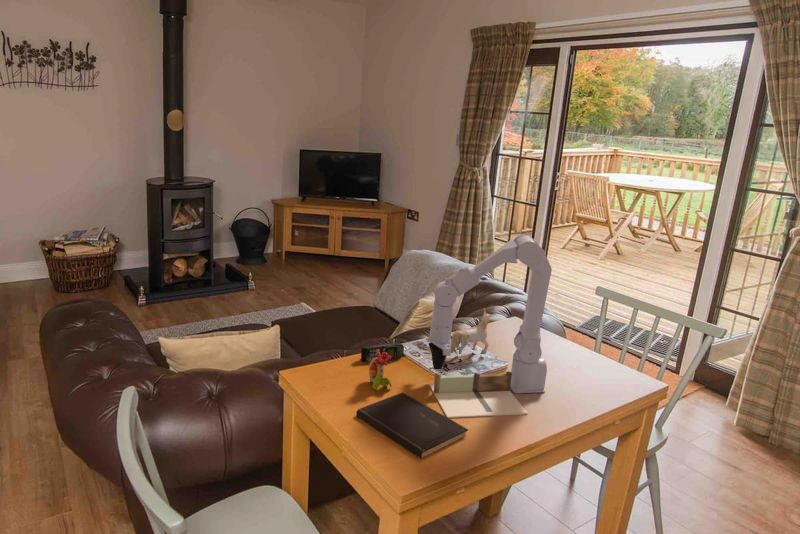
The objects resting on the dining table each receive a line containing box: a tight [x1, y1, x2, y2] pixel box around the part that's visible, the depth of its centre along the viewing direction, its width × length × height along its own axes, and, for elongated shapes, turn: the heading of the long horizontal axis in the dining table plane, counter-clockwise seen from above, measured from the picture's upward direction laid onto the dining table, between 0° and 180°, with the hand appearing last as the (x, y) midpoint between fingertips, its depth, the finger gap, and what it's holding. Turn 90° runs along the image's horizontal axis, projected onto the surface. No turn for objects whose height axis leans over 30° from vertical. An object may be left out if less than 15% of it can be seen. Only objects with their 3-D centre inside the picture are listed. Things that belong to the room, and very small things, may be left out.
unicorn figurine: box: [450, 307, 491, 355], centre depth 185 cm, size 7×20×13 cm, turn 138°
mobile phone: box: [360, 342, 405, 363], centre depth 180 cm, size 5×3×15 cm
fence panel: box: [433, 372, 474, 393], centre depth 160 cm, size 11×2×5 cm, turn 102°
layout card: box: [428, 383, 529, 419], centre depth 159 cm, size 22×18×1 cm
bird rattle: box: [368, 349, 393, 391], centre depth 161 cm, size 6×11×9 cm
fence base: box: [472, 371, 512, 392], centre depth 163 cm, size 11×2×5 cm, turn 102°
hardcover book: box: [355, 392, 469, 459], centre depth 143 cm, size 16×23×2 cm
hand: (437, 368), depth 167 cm, fingers closed
